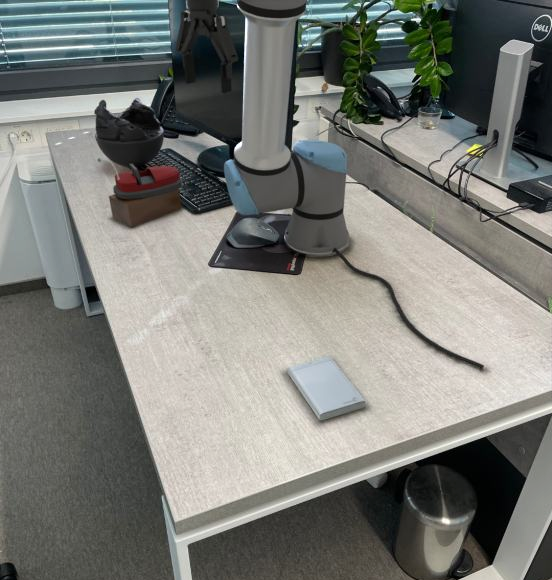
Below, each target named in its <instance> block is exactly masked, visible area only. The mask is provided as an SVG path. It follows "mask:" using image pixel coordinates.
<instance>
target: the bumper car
mask: <svg viewBox="0 0 552 580" xmlns="http://www.w3.org/2000/svg"><path fill="white" fill-rule="evenodd" d="M102 161H107V163H110V164H111V165H112V167H113V169H114V171H115V173H116V174H115V175H114V180H115V185H113V194H116V196H117V197H119V198H121V199H124V200H135V199H143V198H148V197H154V196H158V195H162V194H166V193H169V192H172V191H175V190H177V189H178V188H179V189H180V188H181V187H182V186H183V179H182V177H180V170H178V168H176V167H174V166H170V165H158V166H157V165H156V166H149V167H146V168H145V170H141V171H139V170H138V167H135V166H134V165H133V164H129V165H130V167H129V168H130V170H126V171H123V172H120V173H119V172H118V170H117V168H116V166H115V164H114V162H113V161H111V160H110V159H109V158H101V157H98V158H97V162H99V163H101V162H102Z"/></svg>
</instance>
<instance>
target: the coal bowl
mask: <svg viewBox="0 0 552 580" xmlns="http://www.w3.org/2000/svg"><path fill="white" fill-rule="evenodd" d="M94 115H95V133H94V138H95V141H96V143H97V146H98V148H99V149H100V151H101V152H102V154H103V155H104V156H105V157H106V159H108V160H110V161H111V162H112V163H113V164H114V163H115V164H116V165H119V166H122V167H126V168H130V165H129V164H133V165H134V166H135V167H136V168H140V167H142V165H143V166H145V165H148V164H149V163H151V162H152V161H153V160H154V159H155V158H156V157H157V156H158V154H159V153H160V152H161V149H162V147H163V145H164V144H163V143H164V141H165V140H164V139H165V130H164V128H163V127H162V126H161V122H160V121H159V119H158V118H157V117H156V114H155V110H154V108H152V107H150V106H148V105H146V104H144V103H143V102H142V101H141V98H140V97H135V98H133V100H132V102H131V104H130V105H129V106H128V107H127V108H125V110H123V111H122V112H121V113H119V114H118V115H117V116H116V115H114V114H113V113H112V112H111V111H110V110H108V107H107V102H106V100H105V99H101V100H100V101H99V102H98V106H96V108H95V109H94Z"/></svg>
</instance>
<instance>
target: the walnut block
mask: <svg viewBox="0 0 552 580" xmlns="http://www.w3.org/2000/svg"><path fill="white" fill-rule="evenodd" d="M108 201H109V205H110V211H111V215H112V219H113V220H115V221H117V222H119V223H121V224H123V225H125V226H126V227H129V228H134V227H137V226H140V225H142V224H144V223H146V222H149V221H152V220H154V219H156V218H159V217H161V216H164V215H167V214H169V213H171V212H173V211H176V210H179V209H181V208H182V202H181V194H180V188H178V189H177V190H175V191H172V192H169V193H166V194H162V195H158V196H154V197H148V198H143V199H135V200H124V199H121V198H119V197H117V196H116V194H115V193H113V194H111V195H109V196H108Z"/></svg>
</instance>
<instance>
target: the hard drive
mask: <svg viewBox="0 0 552 580" xmlns="http://www.w3.org/2000/svg"><path fill="white" fill-rule="evenodd" d="M287 374H288V376H289V377H290V379H291V380H292V382H293V383H294V385H295V386H296V388H297V389H298V391H299V392H300V394H301V395H302V396H303V398H304V400H305V401H306V402H307V404H308V405H309V407H310V408H311V410H312V411H313V413H314V415H315V416H316V417H317V419H318V420H319V421H324V420H327V419H331V418H334V417H337V416H341V415H345V414H348V413H350V412H351V413H352V412H354V411H357V410H361V409H363V408H365V407H366V400H365V398H364V397H363V396H362V395H361V394H360V392H359V391H358V390H357V389H356V387H355V386H354V385H353V383H352V382H351V381H350V380H349V379H348V377H347V376H346V374H345V373H344V372H343V371H342V370H341V368H340V367H339V365H338V364H337V363H336V362H335V361H334V359H333V358H332V357H331V356H325V357H320V358H317V359H313V360H309V361H306V362H302V363H299V364H296V365H293V366H292V365H291V366H289V367H288V368H287Z"/></svg>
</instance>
